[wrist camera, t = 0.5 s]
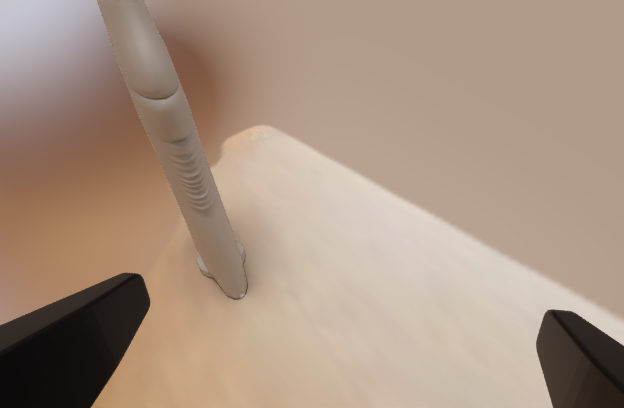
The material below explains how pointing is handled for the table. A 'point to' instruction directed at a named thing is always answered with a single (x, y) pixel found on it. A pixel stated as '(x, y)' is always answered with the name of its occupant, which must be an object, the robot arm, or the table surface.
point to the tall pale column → (174, 139)
